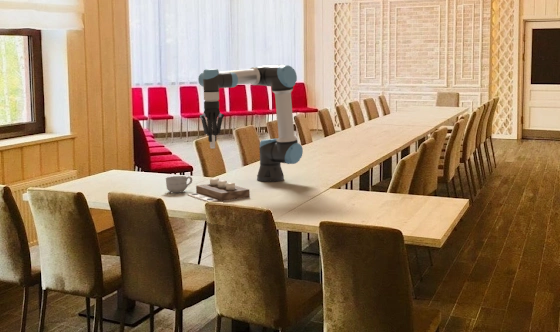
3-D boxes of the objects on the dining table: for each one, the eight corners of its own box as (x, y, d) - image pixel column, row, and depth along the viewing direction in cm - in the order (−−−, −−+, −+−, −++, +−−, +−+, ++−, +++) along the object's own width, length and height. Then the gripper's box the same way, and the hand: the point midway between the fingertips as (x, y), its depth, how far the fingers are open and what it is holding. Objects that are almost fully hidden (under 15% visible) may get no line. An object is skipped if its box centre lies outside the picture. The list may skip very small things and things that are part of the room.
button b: (224, 185, 371) (223, 180, 371) (228, 187, 367) (228, 181, 367) (216, 186, 369) (215, 180, 368) (220, 188, 365) (220, 182, 364)
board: (223, 189, 384) (223, 182, 383) (249, 197, 363) (249, 189, 362) (196, 193, 375) (196, 185, 374) (221, 201, 354) (221, 193, 353)
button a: (216, 183, 378) (216, 177, 377) (220, 184, 374) (220, 179, 374) (208, 184, 375) (208, 178, 375) (212, 185, 371) (212, 180, 371)
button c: (232, 188, 365) (231, 182, 364) (236, 189, 361) (236, 183, 360) (224, 189, 362) (223, 183, 362) (228, 190, 358) (228, 184, 358)
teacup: (167, 194, 372) (167, 179, 371) (165, 190, 383) (164, 175, 382) (194, 192, 376) (194, 177, 375) (191, 189, 386) (191, 174, 385)
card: (196, 194, 373) (196, 192, 373) (217, 200, 355) (217, 199, 355) (187, 195, 370) (187, 193, 370) (208, 202, 352) (208, 200, 352)
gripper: (219, 99, 365) (220, 146, 369) (196, 100, 358) (197, 148, 362) (226, 100, 359) (227, 147, 363) (203, 101, 352) (204, 150, 355)
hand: (212, 148), depth 362 cm, fingers closed
